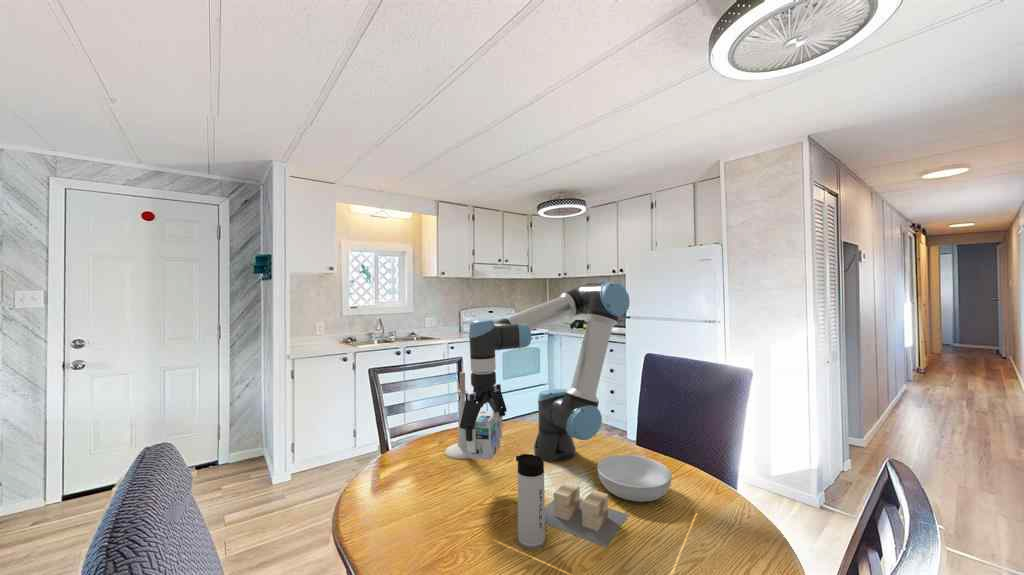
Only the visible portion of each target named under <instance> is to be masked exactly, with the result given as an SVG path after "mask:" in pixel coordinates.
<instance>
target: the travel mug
mask: <svg viewBox="0 0 1024 575" xmlns="http://www.w3.org/2000/svg"><path fill="white" fill-rule="evenodd" d="M515 456H516V457H515V461H516V462H517V536H518V537H517V543H518V545H519V546H520V547H521V548H523V549H524V550H530V551H531V550H532V551H535V550H539V549H541V548H543V547H544V545H545V543H546V537H545V536H546V533H545V532H546V527H545V526H546V524H545V507H546V506H545V468H544V467H545V462H544V461H545V460H543V459H542V458H540V457H539V456H536V455H535V454H531V453H522V454H520V455H515Z"/></svg>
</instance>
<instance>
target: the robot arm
mask: <svg viewBox="0 0 1024 575" xmlns="http://www.w3.org/2000/svg"><path fill="white" fill-rule="evenodd" d="M630 305H631V304H630V296H629V293H628V292H627V289H626V288H625V286H623V285H622V284H621V283H619V282H611V281H606V282H591V283H590V282H589V283H585V284H581V285H578V286H577V287H574V288H572V289H570V290H566V291H565V292H562V293H561V294H560V295H559V297H557V298H554V299H550V300H549V301H546V302H543V303H540V304H538V305H535V306H533V307H530V308H527V309H525V310H522V311H519V312H517V313H514V314H511V315H509V316H506V317H504V318H501V319H499V320H495V321H494V320H493V319H477V320H472V321H471V322H470V323H469V332H468V339H469V358H470V371H471V372H470V385H471V386H472V387H473V390H472V392H466V395H465V406H464V410H463V414H462V419H461V423H460V428H461V429H465V430H466V441H467V451H469V452H473V453H475V452H476V432H475V429H473V428H474V425H475V422H476V419H477V417H478V414H479V411H481V409H482V408H483V406H484V405H485V404H487V403H488V405H489V406H490V407H491V409H492V412H499V424H500V439H503V417H505V416H506V412H507V410H508V409H507V406H506V403H505V400H504V396H503V394H502V389H501V385H502V384H500V383H497V374H496V370H497V368H496V366H497V364H496V362H497V361H496V351H503V350H513V349H521V348H527V347H529V346H530V344H531V342H532V332H531V331H533V330H536V329H538V328H541V327H544V326H545V325H548V324H551V323H553V322H556V321H558V320H560V319H563V318H566V317H568V318H574V317H575V316H579V315H584V317H585V318H586V320H587V323H586V328H585V330H584V331H585V332H584V335H583V339H582V342H581V347H580V351H579V355H578V359H577V364H576V367H575V370H574V371H575V372H574V375H573V377H572V383H571V387H570V388H569V389H566V388H553V389H551V388H550V389H545V390H542V391H539V393H538V397H537V398H538V399H537V404H538V405H537V407H538V409H537V410H538V412H537V413H538V433H537V436H536V440H535V442H534V446H533V453H534V454H533V455H536V456H539V457H540V458H542V460H543V461H548V462H565V461H569V460H572V459H573V458H575V456H576V455H577V454H576V446H575V442H574V439H577V440H579V441H587V440H590V439H592V437H594V436H595V435H597V434H598V432H599V430H600V429H601V427H602V422H603V416H602V414H601V411H600V410H599V408H598V407H599V404H600V400H599V399H598V397H597V392H598V388H599V382H600V380H601V376H602V375H601V374H602V372H603V371H602V370H603V366H604V362H605V359H606V354H607V350H608V346H609V342H610V337H611V333H612V329H613V328H614V326H616V325H618V323H619V319H620V317H621V316H624V315H625V314H626V313H627V312H628V310H629V308H630ZM573 438H574V439H573Z"/></svg>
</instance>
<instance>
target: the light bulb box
mask: <svg viewBox="0 0 1024 575" xmlns="http://www.w3.org/2000/svg"><path fill="white" fill-rule="evenodd" d="M473 429H475V432H476V452H475V453H473V452H470V456H471V458H470V459H472V460H473V459H474V460H488V461H492V460H493V459H494V457H495V455H496V454H497V452H498V451H499V449H500V447H501V438H500V424H499V412H494V411H489V410H488V411H484V410H480V411H479V414H478V417H477V419H476V422H475V425H474V428H473Z"/></svg>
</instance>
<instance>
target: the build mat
mask: <svg viewBox="0 0 1024 575" xmlns="http://www.w3.org/2000/svg"><path fill="white" fill-rule="evenodd" d="M583 500H584V499H581V498H580V509H579V510H578V511H577V512H576V513H575V514H574V515H573V516H572V517H571V518H570V519H569V520H568V521H567V520H565V519H562V518H559V517H556V516H554V499H553V500H551V501H550V502H549V503H548V504H547V505H546V506H545V526H546V525H547V526H549V527H551V528H554V529H557V530H559V531H561V532H565V533H567V534H569V535H573V536H574V537H575V536H576V537H577V538H581V539H583V540H586V541H588V542H590V543H594V544H596V545H599V546H601V547H604V548H607V546H608V545H609V544H610V542H611V541H613V539H614V537H615V535H616V534H617V533H618V531H619V530H620V528H621V527H622V526H623V524H624V523H625V522H626V520H627V519H628V517H629V516H630V514H629V513H626V512H623V511H620V510H616V509H614V508H609V507H608V519H607V520H606V521H605V522H604V524H603V525H602V526H601V527H600V529H599V530H598V531H595V530H592V529H590V528H587V527H584V526H582V501H583Z"/></svg>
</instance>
